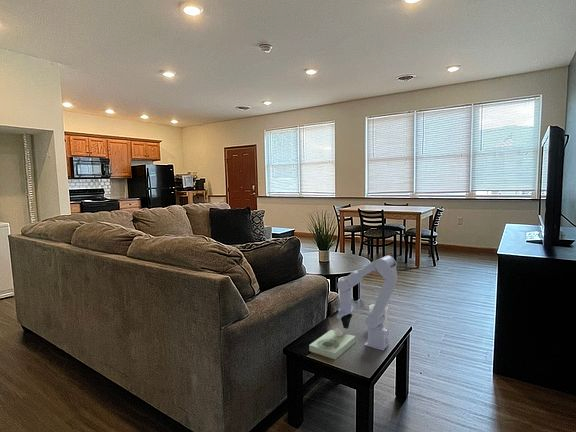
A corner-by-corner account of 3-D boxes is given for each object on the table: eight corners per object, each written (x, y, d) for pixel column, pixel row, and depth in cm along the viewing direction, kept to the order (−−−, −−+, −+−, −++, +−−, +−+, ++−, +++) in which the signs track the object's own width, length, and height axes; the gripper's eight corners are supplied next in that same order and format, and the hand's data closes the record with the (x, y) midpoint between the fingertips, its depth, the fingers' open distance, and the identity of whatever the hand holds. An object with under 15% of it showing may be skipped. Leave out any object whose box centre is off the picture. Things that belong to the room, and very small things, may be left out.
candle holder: (368, 331, 179) (367, 309, 178) (370, 323, 188) (370, 302, 187) (387, 333, 176) (387, 310, 175) (388, 325, 185) (388, 304, 184)
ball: (344, 335, 168) (343, 327, 168) (340, 338, 165) (339, 330, 165) (337, 333, 171) (336, 326, 170) (333, 336, 168) (332, 329, 167)
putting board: (355, 342, 167) (355, 336, 167) (335, 359, 152) (335, 353, 152) (331, 335, 176) (331, 329, 176) (309, 351, 160) (309, 345, 160)
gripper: (345, 296, 181) (345, 321, 182) (331, 305, 169) (331, 331, 171) (357, 299, 176) (357, 324, 178) (343, 307, 165) (344, 334, 166)
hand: (346, 327), depth 174 cm, fingers closed
